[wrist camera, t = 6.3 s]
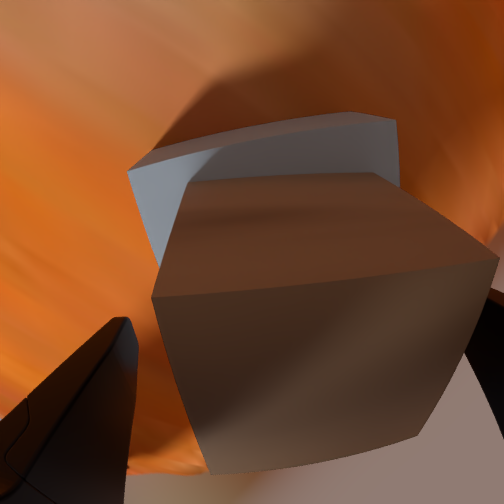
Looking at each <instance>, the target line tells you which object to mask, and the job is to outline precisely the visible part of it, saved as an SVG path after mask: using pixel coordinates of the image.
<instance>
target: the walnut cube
mask: <svg viewBox="0 0 504 504" xmlns="http://www.w3.org/2000/svg"><path fill="white" fill-rule="evenodd" d="M499 259H500V257H498V256H497V255H496V254H495V253H493V252H492V251H491V250H489V249H488V248H487V247H486V246H484V245H483V244H482V243H480V242H479V241H478V240H476V239H475V238H474V237H472V236H471V235H470V234H468V233H467V232H465V231H464V230H463V229H461V228H460V227H458V226H457V225H456V224H454V223H453V222H451V221H450V220H448V219H447V218H445V217H444V216H443V215H441V214H440V213H438V212H437V211H435V210H434V209H432V208H431V207H429V206H428V205H426V204H424V203H423V202H421V201H420V200H418V199H417V198H415V197H414V196H412V195H410V194H409V193H407V192H406V191H404V190H402V189H401V188H399V187H397V186H396V185H394V184H392V183H391V182H389V181H387V180H386V179H384V178H382V177H381V176H379V175H377V174H375V173H374V172H362V173H317V174H293V175H274V176H258V177H243V178H231V179H219V180H208V181H197V182H188V183H187V186H186V188H185V191H184V194H183V197H182V200H181V203H180V206H179V209H178V212H177V215H176V218H175V221H174V224H173V227H172V230H171V233H170V236H169V239H168V243H167V246H166V249H165V252H164V255H163V259H162V262H161V265H160V269H159V272H158V276H157V279H156V282H155V286H154V289H153V293H152V297H151V299H152V302H153V306H154V310H155V314H156V317H157V321H158V325H159V328H160V332H161V335H162V339H163V342H164V345H165V349H166V352H167V355H168V359H169V362H170V365H171V368H172V371H173V374H174V378H175V381H176V384H177V387H178V390H179V393H180V395H181V398H182V401H183V404H184V407H185V410H186V413H187V415H188V418H189V421H190V423H191V426H192V429H193V431H194V434H195V437H196V439H197V442H198V444H199V447H200V449H201V452H202V454H203V457H204V459H205V462H206V464H207V467H208V469H209V471H210V474H211V475H218V474H219V475H220V474H235V473H236V474H237V473H249V472H259V471H268V470H276V469H283V468H290V467H297V466H303V465H308V464H314V463H319V462H324V461H329V460H334V459H338V458H342V457H346V456H351V455H355V454H359V453H363V452H367V451H370V450H373V449H377V448H381V447H384V446H388V445H391V444H394V443H397V442H400V441H403V440H406V439H409V438H412V437H415V436H417V435H418V434H419V432H420V431H421V429H422V428H423V426H424V424H425V423H426V421H427V420H428V418H429V416H430V415H431V413H432V412H433V410H434V408H435V407H436V405H437V403H438V401H439V400H440V398H441V396H442V394H443V392H444V391H445V389H446V387H447V385H448V383H449V382H450V379H451V378H452V376H453V374H454V372H455V370H456V367H457V366H458V364H459V362H460V360H461V358H462V356H463V353H464V351H465V349H466V347H467V345H468V343H469V341H470V338H471V336H472V334H473V331H474V329H475V327H476V324H477V322H478V319H479V317H480V314H481V312H482V309H483V307H484V304H485V301H486V299H487V296H488V293H489V290H490V287H491V284H492V281H493V278H494V275H495V272H496V269H497V266H498V262H499Z"/></svg>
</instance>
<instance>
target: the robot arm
mask: <svg viewBox="0 0 504 504" xmlns="http://www.w3.org/2000/svg"><path fill="white" fill-rule="evenodd" d="M138 352H139V345H138V340H137V337H136V335H135V332H134V329H133V326H132V323H131V320H130V319H129V318H128V317H114V318H112V319H111V320H110V321H109V322H108V323H106V324H105V325H104V326H103V327H102V328H101V329H100V330H98V331H97V332H96V333H95V334H94V335H93V336H92V337H91V338H90V339H88V340H87V341H86V342H85V343H84V344H83V345H82V346H81V347H79V348H78V349H77V350H76V351H75V352H74V353H73V354H72V355H71V356H70V357H68V358H67V359H66V360H65V361H64V362H63V363H62V364H61V365H60V366H59V367H58V368H56V369H55V370H54V371H53V372H52V373H51V374H50V375H49V376H48V377H47V378H46V379H45V380H44V381H42V382H41V383H40V384H39V385H38V386H37V387H36V388H35V389H34V390H33V391H32V392H31V393H30V394H29V395H28V396H27V398H24V399H23V400H22V401H21V402H20V403H19V404H18V405H17V406H16V407H15V408H14V409H13V410H12V411H11V412H10V413H9V414H7V415H6V416H5V417H4V418H3V419H2V420H1V421H0V504H124V492H125V481H126V471H127V462H128V454H129V446H130V438H131V430H132V423H133V416H134V410H135V402H136V389H137V368H138ZM464 353H465V355H466V357H467V359H468V361H469V363H470V365H471V367H472V369H473V371H474V373H475V375H476V377H477V379H478V381H479V383H480V385H481V388H482V390H483V392H484V394H485V396H486V398H487V401H488V402H489V405H490V407H491V409H492V412H493V414H494V416H495V419H496V421H497V424H498V426H499V429H500V431H501V434H502V436H503V439H504V293H502V292H500V291H498V290H495V289H493V288H490V290H489V293H488V296H487V299H486V301H485V304H484V307H483V309H482V312H481V314H480V317H479V319H478V322H477V324H476V327H475V329H474V331H473V334H472V336H471V338H470V341H469V343H468V345H467V347H466V349H465V351H464Z"/></svg>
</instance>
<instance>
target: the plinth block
mask: <svg viewBox="0 0 504 504" xmlns="http://www.w3.org/2000/svg"><path fill="white" fill-rule="evenodd" d="M362 172H374V173H375V174H377V175H379V176H381V177H382V178H384V179H386V180H387V181H389V182H391V183H392V184H394V185H396V186H397V187H399V188H400V168H399V150H398V136H397V124H396V120H394V119H389V118H384V117H379V116H374V115H369V114H364V113H358V112H352V111H349V112H340V113H331V114H323V115H316V116H309V117H302V118H295V119H289V120H283V121H277V122H271V123H266V124H260V125H255V126H250V127H245V128H240V129H235V130H230V131H225V132H221V133H216V134H212V135H208V136H203V137H199V138H195V139H191V140H187V141H183V142H179V143H176V144H172V145H168V146H164V147H161V148H157V149H154V150H151V151H150V152H149V153H148V154H147V155H145V156H144V157H143V158H142V159H141V160H139V161H138V162H137V163H136V164H135V165H134V166H133V167H131V168H130V169H129V170H128V171H127V173H128V176H129V180H130V183H131V186H132V189H133V193H134V196H135V199H136V202H137V205H138V208H139V211H140V214H141V217H142V220H143V223H144V226H145V229H146V232H147V235H148V238H149V241H150V243H151V246H152V249H153V252H154V255H155V257H156V260H157V263H158V266H159V268H160V265H161V262H162V259H163V255H164V252H165V249H166V246H167V243H168V239H169V236H170V233H171V230H172V227H173V224H174V221H175V218H176V215H177V212H178V209H179V206H180V203H181V200H182V197H183V194H184V191H185V188H186V186H187V183H188V182H197V181H208V180H219V179H231V178H243V177H258V176H274V175H293V174H317V173H362Z"/></svg>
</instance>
